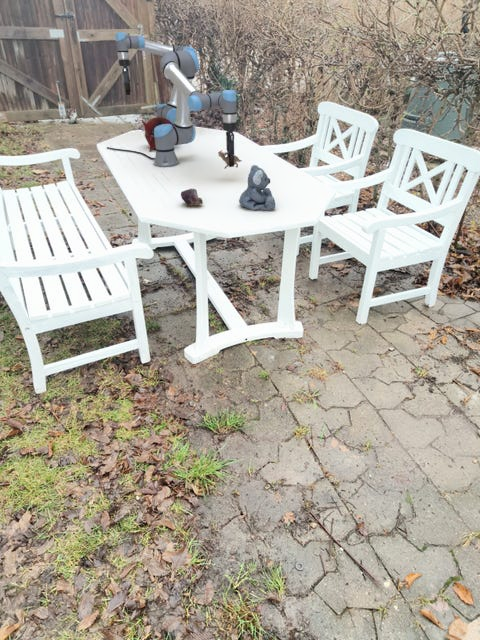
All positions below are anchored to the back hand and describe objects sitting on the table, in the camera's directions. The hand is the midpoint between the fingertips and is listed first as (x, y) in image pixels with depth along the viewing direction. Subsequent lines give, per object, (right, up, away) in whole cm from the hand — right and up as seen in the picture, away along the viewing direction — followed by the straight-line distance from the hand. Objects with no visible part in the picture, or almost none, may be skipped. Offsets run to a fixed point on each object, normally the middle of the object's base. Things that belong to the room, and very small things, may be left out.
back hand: (128, 93), depth 321 cm
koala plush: (+88, -104, -92) cm, 164 cm away
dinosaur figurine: (+75, -74, -62) cm, 122 cm away
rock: (+55, -103, -90) cm, 147 cm away
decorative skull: (+23, -36, +9) cm, 43 cm away
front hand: (+74, -73, -62) cm, 121 cm away
